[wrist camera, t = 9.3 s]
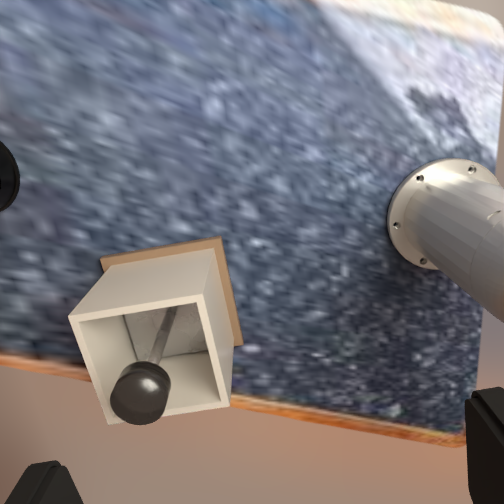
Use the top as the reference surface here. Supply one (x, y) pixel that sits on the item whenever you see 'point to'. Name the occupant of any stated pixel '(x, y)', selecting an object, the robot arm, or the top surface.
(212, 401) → the white open box
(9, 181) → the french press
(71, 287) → the top surface
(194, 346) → the plunger
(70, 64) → the top surface
